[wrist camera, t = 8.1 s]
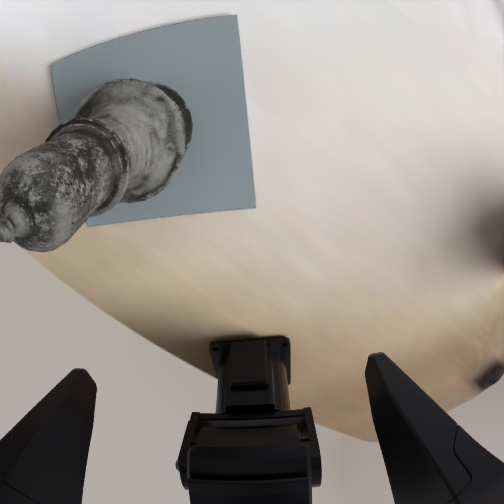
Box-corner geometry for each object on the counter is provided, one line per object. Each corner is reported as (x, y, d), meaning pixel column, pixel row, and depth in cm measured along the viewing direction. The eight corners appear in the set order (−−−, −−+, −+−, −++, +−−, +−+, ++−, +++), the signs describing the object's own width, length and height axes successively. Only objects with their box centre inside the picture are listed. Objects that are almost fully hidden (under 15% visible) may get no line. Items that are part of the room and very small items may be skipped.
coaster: (255, 204, 18) (256, 208, 18) (91, 223, 19) (87, 227, 18) (237, 17, 13) (236, 14, 12) (56, 63, 13) (50, 63, 13)
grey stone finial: (212, 160, 16) (154, 321, 6) (120, 191, 17) (3, 342, 7) (179, 60, 13) (30, 45, 3) (85, 102, 14) (-90, 178, 4)
